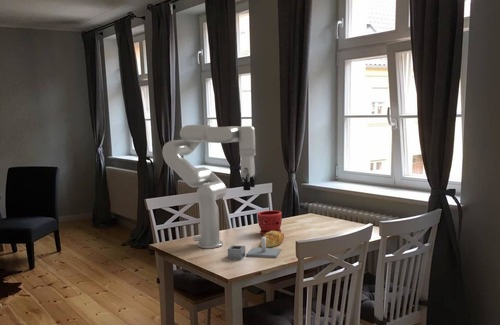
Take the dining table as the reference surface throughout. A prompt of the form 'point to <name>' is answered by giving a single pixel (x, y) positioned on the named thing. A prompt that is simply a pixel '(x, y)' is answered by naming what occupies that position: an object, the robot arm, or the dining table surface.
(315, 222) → the dining table surface
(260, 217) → the plant pot
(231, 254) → the grey hollow block
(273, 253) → the keeper
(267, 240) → the croissant
